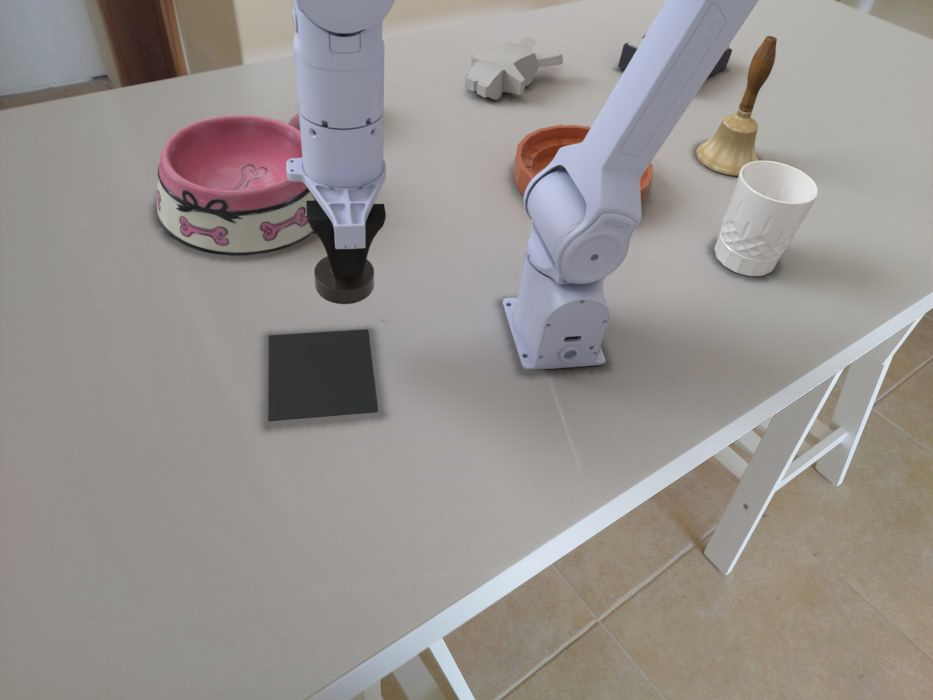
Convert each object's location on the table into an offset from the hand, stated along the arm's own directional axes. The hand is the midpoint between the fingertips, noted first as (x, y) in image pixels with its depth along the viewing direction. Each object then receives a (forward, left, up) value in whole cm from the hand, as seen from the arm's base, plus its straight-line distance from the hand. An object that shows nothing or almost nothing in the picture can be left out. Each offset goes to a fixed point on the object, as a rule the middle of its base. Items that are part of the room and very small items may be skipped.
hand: (346, 264), depth 59 cm
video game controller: (+42, +1, -11) cm, 43 cm away
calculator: (+56, -54, -8) cm, 78 cm away
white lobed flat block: (+52, -26, -11) cm, 59 cm away
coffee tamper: (0, 0, -2) cm, 2 cm away
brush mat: (-2, +3, -11) cm, 11 cm away
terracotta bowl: (+26, -29, -11) cm, 40 cm away
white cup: (+11, -44, -11) cm, 47 cm away
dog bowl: (+24, +10, -11) cm, 28 cm away
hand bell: (+31, -51, -11) cm, 61 cm away
